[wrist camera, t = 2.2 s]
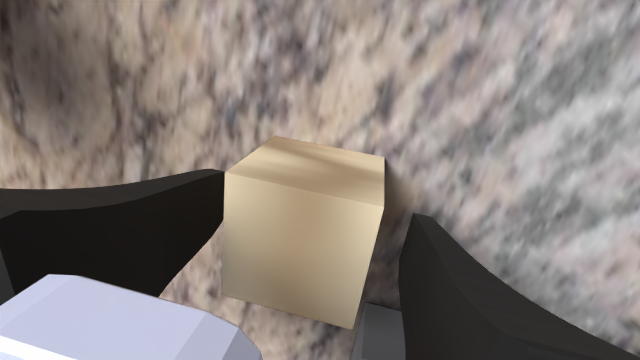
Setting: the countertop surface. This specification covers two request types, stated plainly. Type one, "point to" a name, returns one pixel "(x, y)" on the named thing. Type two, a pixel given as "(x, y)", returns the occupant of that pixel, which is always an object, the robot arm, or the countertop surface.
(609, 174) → the countertop surface
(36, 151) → the countertop surface
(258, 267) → the maple cube
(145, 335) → the robot arm
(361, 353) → the base block
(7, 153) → the countertop surface
